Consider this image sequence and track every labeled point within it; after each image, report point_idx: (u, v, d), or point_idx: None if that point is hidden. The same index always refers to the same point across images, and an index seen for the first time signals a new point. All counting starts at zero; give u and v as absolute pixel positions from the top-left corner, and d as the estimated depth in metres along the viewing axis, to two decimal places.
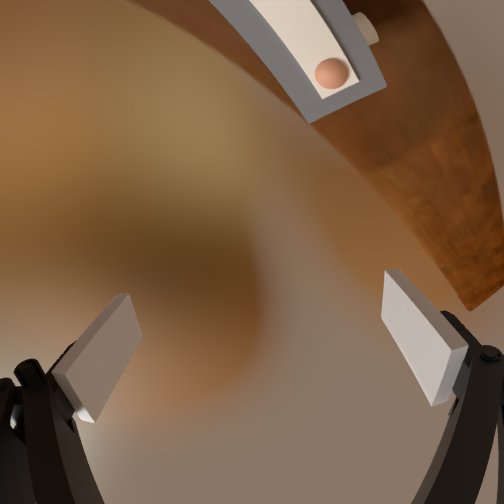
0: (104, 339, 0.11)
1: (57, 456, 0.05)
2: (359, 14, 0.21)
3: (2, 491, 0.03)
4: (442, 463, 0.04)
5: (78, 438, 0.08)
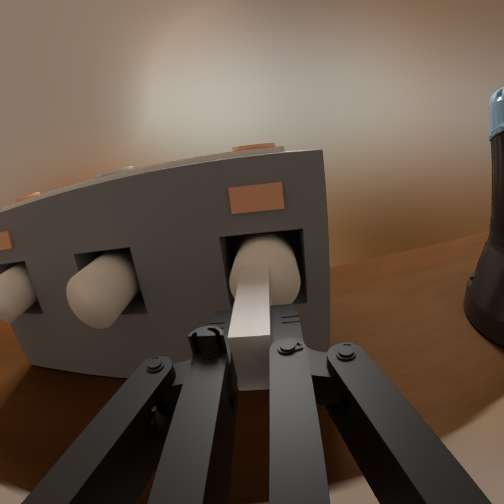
0: None
1: (206, 449, 0.06)
2: (12, 296, 0.18)
3: (99, 490, 0.05)
4: (270, 463, 0.05)
5: (234, 420, 0.09)
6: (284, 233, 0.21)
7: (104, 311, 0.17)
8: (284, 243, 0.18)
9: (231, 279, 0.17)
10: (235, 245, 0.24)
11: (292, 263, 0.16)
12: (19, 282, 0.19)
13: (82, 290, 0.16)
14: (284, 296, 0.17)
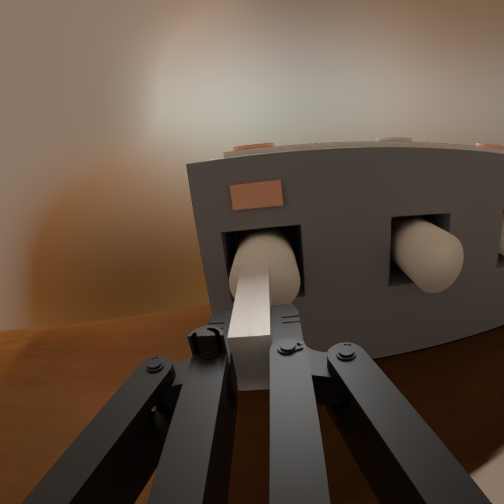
0: None
1: (205, 449, 0.06)
2: None
3: (99, 490, 0.05)
4: (270, 463, 0.05)
5: (234, 420, 0.09)
6: None
7: (449, 272, 0.16)
8: None
9: None
10: None
11: None
12: (292, 253, 0.18)
13: (437, 251, 0.15)
14: None
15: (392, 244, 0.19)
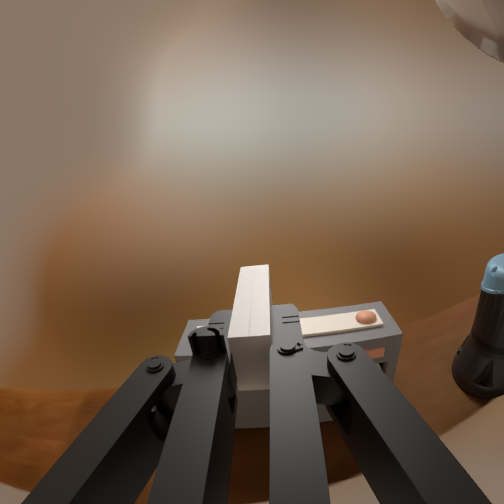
0: None
1: (205, 449, 0.06)
2: None
3: (99, 490, 0.05)
4: (270, 463, 0.05)
5: (234, 420, 0.09)
6: None
7: None
8: None
9: None
10: None
11: None
12: None
13: None
14: None
15: None
